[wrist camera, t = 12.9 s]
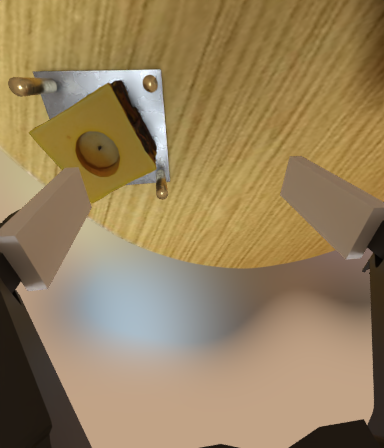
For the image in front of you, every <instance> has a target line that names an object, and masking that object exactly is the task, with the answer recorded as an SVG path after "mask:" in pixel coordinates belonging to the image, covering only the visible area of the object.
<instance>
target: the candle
mask: <svg viewBox="0 0 384 448" xmlns="http://www.w3.org/2000/svg"><path fill="white" fill-rule="evenodd" d="M29 134H30V135H31V136H32V137H33V139H34V140H35V141H36V142H37V143H38V144H39V145H40V147H41V148H42V149H43V150H44V151H45V152H46V153H47V154H48V155H49V156H50V157H51V159H52V160H53V161H54V162H55V163H56V164H57V165H58V166H59V167H60V168H61V169H62V170H63V169H64V168H74V167H79V170H80V173H81V176H82V180H83V183H84V186H85V189H86V192H87V195H88V198H89V201H90V202H91V203H94V202H96V201H98V200H100V199H102V198H103V197H105V196H106V195H108V194H109V193H111V192H113V191H115V190H117V189H118V188H120V187H122V186H124V185H126V184H128V183H130V182H132V181H134V180H136V179H138V178H140V177H143V176H145V175H147V174H149V173H151V172H153V171H155V170H156V169H157V167H156V161H157V159H156V154H157V151H156V150H157V146H156V144H155V142H154V140H153V139H152V136H151V135H150V133H149V130H148V128H147V126H146V124H145V123H144V121H143V119H142V117H141V115H140V113H139V112H138V109H137V108H136V107H133V106H132V104H131V101H130V99H129V97H128V92H127V89H126V88H125V85H124V84H123V82H122V80H118V81H114V82H112V83H107V84H105V85H103V86H101V87H99V88H98V89H97V90H95V91H94V92H92V93H90V94H88V95H87V96H86V97H85V98H83V99H81V100H80V101H79V102H77V103H76V104H74V105H73V106H71V107H69V108H68V109H66V110H65V111H63V112H61V113H60V114H58V115H56V116H55V117H53V118H51V119H50V120H48V121H47V122H45V123H43V124H41V125H39V126H37V127H35V128H34V129H33V130H31V131H30V132H29Z"/></svg>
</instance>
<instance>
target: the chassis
mask: <svg viewBox="0 0 384 448" xmlns="http://www.w3.org/2000/svg"><path fill="white" fill-rule="evenodd" d="M33 74H34V77H35V78H21V77H13V78H10V79H9V82H8V85H9V88H10V90H11V91H12V92H13V93H14V94H15V95H17V96H30V95H39V94H41V96H42V99H43V102H44V105H45V108H46V110H47V113H48V116H49V119H51V118H53V117H55V116H56V115H58V114H60V113H61V112H63V111H65V110H66V109H68V108H69V107H71V106H73V105H74V104H76V103H77V102H79V101H80V100H81V99H83V98H85V97H86V96H87V95H88V94H90V93H92V92H94V91H95V90H97V89H98V88H99V87H101V86H103V85H105V84H107V83H112V82H114V81H118V80H122V82H123V84H124V85H125V88H126V89H127V92H128V97H129V99H130V101H131V104H132V106H133V107H136V108H137V109H138V112H139V113H140V115H141V117H142V119H143V121H144V123H145V124H146V126H147V128H148V130H149V133H150V135H151V136H152V139H153V140H154V142H155V144H156V146H157V150H156V151H157V154H156V159H157V161H156V167H157V169H156V170H155V171H153V172H151V173H149V174H147V175H145V176H143V177H140V178H138V179H136V180H134V181H132V182H130V183H128V184H126V185H132V184H144V183H156V195H157V197H158V198H159V199H162V200H163V199H166V198H167V196H168V191H167V184H166V182H170V176H169V164H168V152H167V140H166V128H165V116H164V103H163V91H162V79H161V70H104V71H43V72H33Z"/></svg>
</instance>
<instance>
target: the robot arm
mask: <svg viewBox="0 0 384 448" xmlns="http://www.w3.org/2000/svg"><path fill="white" fill-rule="evenodd" d="M280 195H281V196H282V197H283V198H284V199H285V200H286V201H287V202H288V203H289V204H290V205H291V206H292V207H293V208H294V209H295V210H296V211H297V212H298V213H299V214H300V215H301V216H302V217H303V218H304V219H305V220H306V221H307V222H308V223H309V224H310V225H311V226H312V227H313V228H314V229H315V230H316V231H317V232H318V233H319V234H320V235H321V236H322V237H323V238H324V239H325V240H326V241H327V242H328V243H329V244H330V245H332V246H333V247H334V248H335V249H336V250H337V251H338V252H339V253H340V254H341V255H342V256H343V257H344V258H345V259H355V258H361V257H362V255H363V254H364V252H365V250H366V249H367V248H369V249H370V250H371V251H372V252H373V254H372V256H371V257H370V259H369V260H368V262H367V264H366V265H365V267H364V268H363V270H362V272H365V271H366V270H368V269H370V273H369V274H370V290H371V319H372V350H373V380H374V409H373V414H372V416H371V418H370V420H369V423H368V426H367V425H366V423H365V421H364V419H363V420H357V421H351V422H346V423H340V424H334V425H328V426H322V427H319V428H317V429H316V430H314V431H313V432H311V433H310V434H308V435H307V436H305V437H304V438H302V439H301V440H299V441H298V442H296V443H295V444H293V445H292V446H291V447H289V448H384V202H382V201H381V200H379V199H377V198H375V197H373V196H372V195H370V194H368V193H366V192H365V191H363V190H361V189H359V188H357V187H356V186H354V185H352V184H350V183H348V182H347V181H345V180H343V179H341V178H340V177H338V176H336V175H334V174H332V173H331V172H329V171H327V170H325V169H323V168H322V167H320V166H318V165H316V164H315V163H313V162H311V161H309V160H307V159H306V158H304V157H302V156H290V158H289V162H288V166H287V170H286V174H285V178H284V182H283V186H282V190H281V194H280ZM91 208H92V207H91V204H90V201H89V198H88V195H87V192H86V189H85V186H84V183H83V180H82V176H81V173H80V170H79V167H74V168H64V169H63V170H62V171H61V172H60V173H59V174H58V175H57V176H56V177H55V178H54V179H53V180H52V181H50V182H49V183H48V184H47V185H46V186H45V187H44V188H43V189H42V190H41V191H40V192H39V193H38V194H36V195H35V196H34V197H33V198H32V199H31V200H30V201H29V202H28V203H27V204H26V205H25V206H24V207H23V208H22V209H20V210H18V211H16V212H14V213H13V214H11V215H9V216H8V217H7V218H6V219H5V220H4V221H3V223H0V448H92V447H91V445H90V443H89V441H88V439H87V437H86V434H85V432H84V430H83V428H82V426H81V424H80V422H79V420H78V418H77V415H76V413H75V411H74V409H73V407H72V405H71V403H70V401H69V399H68V397H67V395H66V392H65V390H64V388H63V386H62V384H61V382H60V380H59V377H58V375H57V373H56V371H55V369H54V367H53V365H52V363H51V360H50V358H49V356H48V354H47V352H46V350H45V348H44V346H43V344H42V342H41V339H40V337H39V335H38V333H37V331H36V329H35V327H34V325H33V322H32V320H31V318H30V316H29V314H28V312H27V310H26V308H25V306H24V304H23V301H22V299H21V297H20V295H19V294H18V292H17V291H16V290H15V289H16V288H17V286H18V285H19V283H20V282H22V283H23V285H24V286H25V287H26V289H27V290H28V291H33V290H43V289H48V288H49V286H50V284H51V282H52V280H53V279H54V276H55V275H56V273H57V271H58V269H59V267H60V265H61V264H62V262H63V260H64V258H65V256H66V254H67V253H68V251H69V248H70V247H71V245H72V243H73V241H74V240H75V238H76V236H77V234H78V232H79V230H80V228H81V227H82V225H83V223H84V221H85V219H86V217H87V215H88V214H89V212H90V210H91ZM202 448H238V447H233V446H228V445H223V444H219V445H213V446H207V447H202Z"/></svg>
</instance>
